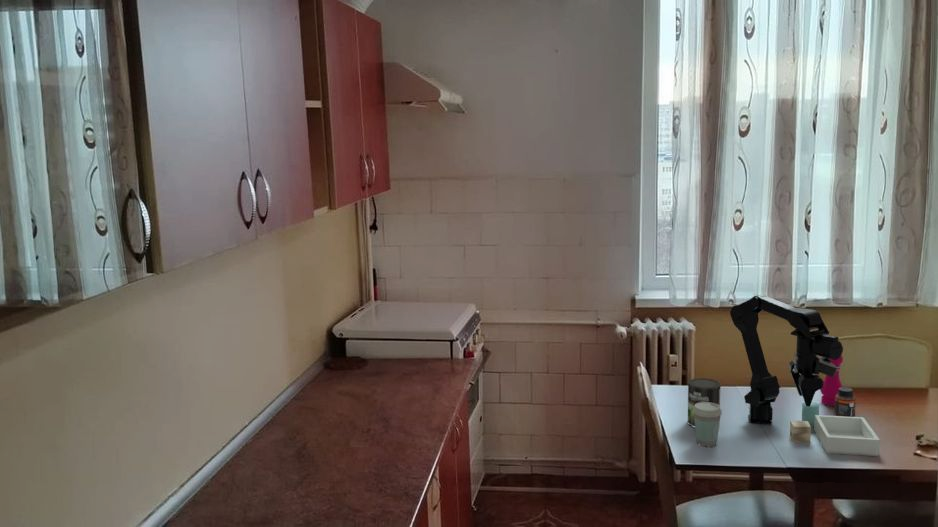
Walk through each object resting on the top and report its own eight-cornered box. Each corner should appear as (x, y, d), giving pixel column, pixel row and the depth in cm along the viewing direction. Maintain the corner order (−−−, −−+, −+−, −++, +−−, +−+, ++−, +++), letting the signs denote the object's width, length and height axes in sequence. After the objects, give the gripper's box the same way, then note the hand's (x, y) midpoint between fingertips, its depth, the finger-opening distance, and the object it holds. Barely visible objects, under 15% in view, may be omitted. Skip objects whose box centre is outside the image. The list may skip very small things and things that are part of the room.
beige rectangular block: (792, 441, 226) (793, 426, 225) (789, 435, 231) (790, 420, 230) (810, 442, 225) (810, 427, 224) (807, 436, 229) (807, 421, 229)
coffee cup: (717, 451, 221) (718, 412, 219) (688, 445, 226) (689, 408, 224) (724, 440, 228) (724, 403, 226) (696, 436, 233) (696, 399, 231)
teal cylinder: (803, 427, 236) (803, 406, 235) (800, 422, 241) (800, 401, 240) (820, 428, 235) (820, 407, 234) (816, 422, 240) (817, 402, 238)
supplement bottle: (857, 426, 235) (858, 392, 234) (837, 425, 237) (838, 391, 235) (851, 419, 241) (853, 386, 239) (831, 418, 242) (833, 385, 241)
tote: (826, 453, 217) (827, 437, 216) (814, 429, 234) (814, 414, 233) (879, 456, 213) (879, 440, 212) (862, 432, 230) (863, 417, 230)
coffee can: (711, 432, 235) (712, 390, 233) (681, 425, 242) (682, 384, 240) (725, 422, 243) (726, 381, 240) (696, 416, 250) (696, 376, 247)
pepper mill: (843, 400, 258) (846, 345, 255) (841, 407, 252) (844, 350, 249) (821, 397, 262) (823, 343, 259) (818, 404, 256) (820, 348, 253)
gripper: (843, 361, 213) (841, 412, 216) (827, 344, 231) (825, 391, 233) (802, 360, 215) (800, 411, 218) (789, 343, 233) (787, 390, 236)
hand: (804, 400), depth 226 cm, fingers open, 9 cm apart
